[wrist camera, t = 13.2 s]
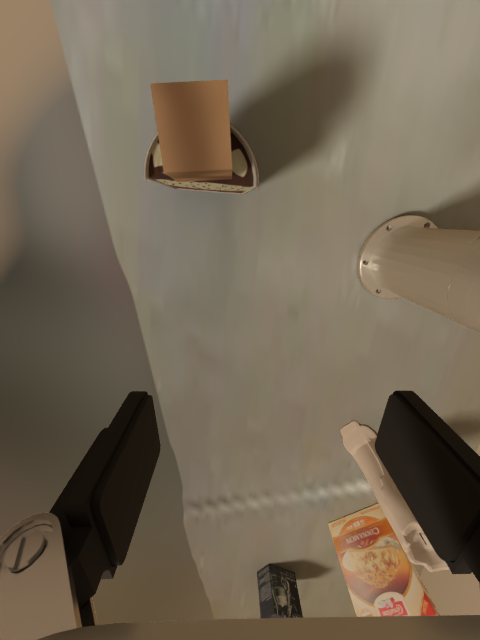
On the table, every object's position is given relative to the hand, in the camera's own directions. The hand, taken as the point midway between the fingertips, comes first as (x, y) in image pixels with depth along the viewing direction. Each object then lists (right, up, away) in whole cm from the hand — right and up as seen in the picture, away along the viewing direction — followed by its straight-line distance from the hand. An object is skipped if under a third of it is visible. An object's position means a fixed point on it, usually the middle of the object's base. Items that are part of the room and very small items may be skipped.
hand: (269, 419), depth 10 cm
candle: (+26, -23, +44) cm, 56 cm away
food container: (-5, +25, +23) cm, 34 cm away
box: (+10, -74, +65) cm, 99 cm away
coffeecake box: (+30, -50, +56) cm, 81 cm away
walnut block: (-5, +21, +14) cm, 25 cm away
